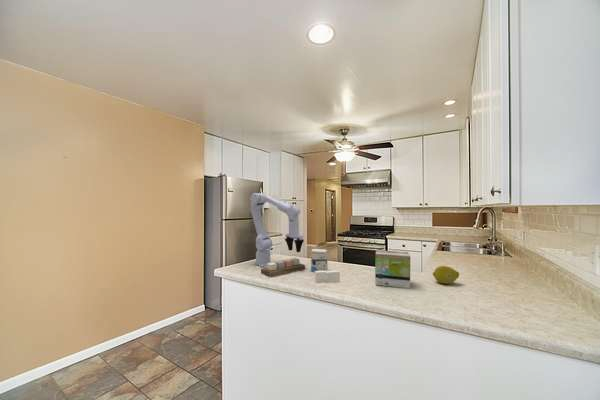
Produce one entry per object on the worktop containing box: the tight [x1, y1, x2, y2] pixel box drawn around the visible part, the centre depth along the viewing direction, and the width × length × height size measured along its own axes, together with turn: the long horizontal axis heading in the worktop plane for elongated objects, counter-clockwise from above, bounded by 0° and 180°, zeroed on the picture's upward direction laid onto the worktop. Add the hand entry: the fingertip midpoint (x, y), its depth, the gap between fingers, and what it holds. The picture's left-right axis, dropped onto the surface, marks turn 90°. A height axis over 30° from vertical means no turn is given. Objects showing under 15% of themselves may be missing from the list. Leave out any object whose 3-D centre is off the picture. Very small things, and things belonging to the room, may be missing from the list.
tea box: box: [374, 249, 411, 289], centre depth 117 cm, size 15×10×15 cm, turn 73°
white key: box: [265, 261, 277, 271], centre depth 135 cm, size 4×4×3 cm
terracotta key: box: [281, 258, 292, 267], centre depth 141 cm, size 4×4×3 cm
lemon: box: [432, 265, 460, 285], centre depth 117 cm, size 11×8×8 cm
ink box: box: [310, 248, 328, 273], centre depth 139 cm, size 8×5×12 cm, turn 73°
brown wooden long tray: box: [260, 263, 306, 278], centre depth 140 cm, size 10×23×2 cm, turn 129°
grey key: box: [274, 260, 285, 269], centre depth 138 cm, size 4×4×3 cm
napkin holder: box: [314, 270, 341, 284], centre depth 122 cm, size 15×11×6 cm
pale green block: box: [289, 257, 301, 265], centre depth 144 cm, size 4×4×3 cm
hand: (294, 251), depth 144 cm, fingers open, 7 cm apart
